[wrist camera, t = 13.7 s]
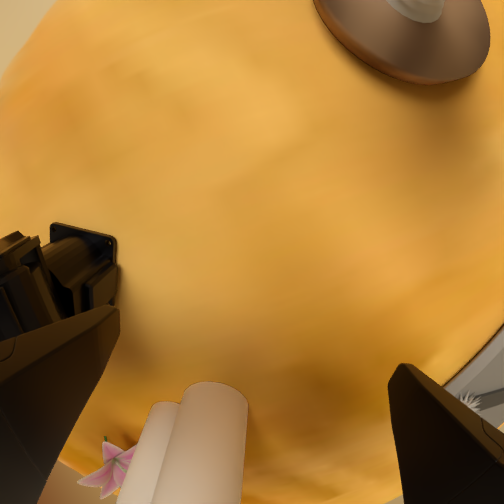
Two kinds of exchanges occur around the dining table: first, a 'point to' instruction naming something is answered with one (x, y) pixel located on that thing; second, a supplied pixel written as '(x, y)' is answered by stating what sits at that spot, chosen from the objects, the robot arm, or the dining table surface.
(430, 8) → the chalice
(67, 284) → the robot arm
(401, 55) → the walnut pedestal
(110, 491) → the lily
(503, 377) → the decorative plate
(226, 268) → the dining table surface
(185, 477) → the vase
